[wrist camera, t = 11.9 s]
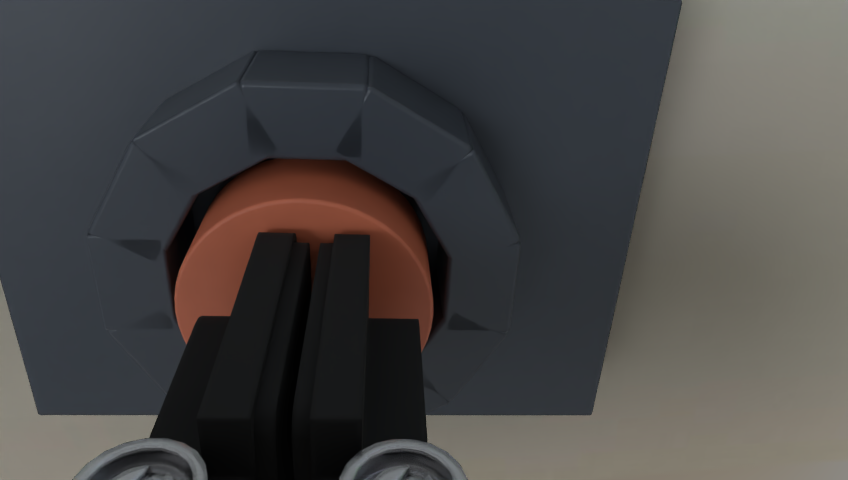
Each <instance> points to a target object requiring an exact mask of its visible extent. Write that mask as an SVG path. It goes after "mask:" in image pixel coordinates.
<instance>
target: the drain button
mask: <svg viewBox="0 0 848 480" xmlns="http://www.w3.org/2000/svg"><path fill="white" fill-rule="evenodd" d="M258 232H271V233H295V234H296V238H297V242H301V243H309V244H310V261H311V292H312V289H313V283H314V277H315V271H316V265H317V259H318V253H319V247H320V243H333V241H334V235H335V234H361V235H370V278H369V318H393V319H418V320H419V326H420V340H421V353H422V351H423V348H424V346H425V344H426V342H427V340H428V337H429V334H430V331H431V327H432V320H433V294H432V285H431V277H430V268H429V259H428V251H427V244H426V238H425V234H424V231H423V228H422V225H421V222H420V220H419V218H418V216H417V214H416V212H415V211H414V209H413V208H412V206H411V205H410V203H409V202H408V200H407V199H406V198H405V197H404V196H403V195H402V194H401V193H400V191H399V190H398V189H396V188H395V187H393V186H391V185H389V184H387V183H386V182H384V181H382V180H380V179H378V178H377V177H375V176H373V175H371V174H370V173H368V172H366V171H364V170H362V169H361V168H359V167H357V166H355V165H353V164H352V163H350V162H348V161H346V160H313V159H271V160H268V161H265V162H262V163H260V164H258V165H255V166H253V167H251V168H249V169H247V170H246V171H244V172H242V173H241V174H239V175H237V176H236V177H235V178H234V179H233V180H231V181H230V182H229V183H228V184H226V185H225V186H224V188H223V189H222V190H221V191H220V192H219V193H218V194H217V195H216V197H215V198H214V200H213V201H212V203H211V204H210V206H209V207H208V210H207V212H206V214H205V216H204V218H203V220H202V222H201V224H200V227H199V229H198V231H197V233H196V235H195V237H194V239H193V241H192V243H191V246H190V248H189V250H188V252H187V254H186V256H185V258H184V260H183V263H182V265H181V267H180V269H179V273H178V277H177V280H176V285H175V295H174V301H175V313H176V317H177V322H178V326H179V329H180V331H181V334H182V336H183V339H184V341H185V343H186V345H187V342H188V340H189V337H190V335H191V332H192V330H193V327H194V325H195V323H196V321H197V319H198V318H199V317H200V316H230V315H231V312H232V309H233V306H234V303H235V300H236V297H237V294H238V291H239V288H240V285H241V282H242V279H243V276H244V273H245V270H246V267H247V264H248V261H249V258H250V255H251V252H252V249H253V246H254V243H255V240H256V237H257V234H258Z"/></svg>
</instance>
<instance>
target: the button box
mask: <svg viewBox="0 0 848 480" xmlns="http://www.w3.org/2000/svg"><path fill="white" fill-rule="evenodd" d="M681 5H682V0H0V280H1V283H2V287H3V290H4V294H5V297H6V301H7V305H8V308H9V312H10V315H11V319H12V322H13V326H14V329H15V333H16V336H17V340H18V343H19V347H20V351H21V354H22V358H23V361H24V365H25V368H26V372H27V375H28V379H29V382H30V386H31V389H32V393H33V397H34V400H35V404H36V407H37V411H38V414H40V415H159V412H160V410H161V407H162V405H163V402H164V400H165V397H166V395H167V392H168V390H169V387H170V385H171V382H172V380H173V377H174V375H175V372H176V370H177V367H178V365H179V362H180V360H181V357H182V355H183V352H184V350H185V347H186V343H185V341H184V339H183V336H182V334H181V331H180V329H179V326H178V322H177V317H176V313H175V301H174V295H175V285H176V280H177V277H178V273H179V269H180V267H181V265H182V263H183V260H184V258H185V256H186V254H187V252H188V250H189V248H190V246H191V243H192V241H193V239H194V237H195V235H196V233H197V231H198V229H199V227H200V224H201V222H202V220H203V218H204V216H205V214H206V212H207V210H208V207H209V206H210V204H211V203H212V201H213V200H214V198H215V197H216V195H217V194H218V193H219V192H220V191H221V190H222V189H223V188H224V186H225V185H226V184H228V183H229V182H230V181H231V180H233V179H234V178H235V177H236V176H237V175H239V174H241V173H242V172H244V171H246V170H247V169H249V168H251V167H253V166H255V165H258V164H260V163H262V162H265V161H268V160H271V159H313V160H346V161H348V162H350V163H352V164H353V165H355V166H357V167H359V168H361V169H362V170H364V171H366V172H368V173H370V174H371V175H373V176H375V177H377V178H378V179H380V180H382V181H384V182H386V183H387V184H389V185H391V186H393V187H395V188H396V189H398V190H399V191H400V193H401V194H402V195H403V196H404V197H405V198H406V199H407V200H408V202H409V203H410V205H411V206H412V208H413V209H414V211H415V212H416V214H417V216H418V218H419V220H420V222H421V225H422V228H423V231H424V234H425V238H426V244H427V251H428V259H429V268H430V277H431V285H432V294H433V320H432V327H431V331H430V334H429V337H428V340H427V342H426V344H425V346H424V348H423V351H422V353H421V355H422V369H423V384H424V398H425V413H426V415H591V414H592V411H593V407H594V402H595V398H596V393H597V389H598V384H599V379H600V375H601V370H602V366H603V361H604V357H605V352H606V347H607V343H608V338H609V334H610V329H611V325H612V320H613V316H614V311H615V306H616V302H617V297H618V293H619V288H620V284H621V279H622V274H623V270H624V265H625V261H626V256H627V252H628V247H629V243H630V238H631V233H632V229H633V224H634V220H635V215H636V211H637V206H638V201H639V197H640V192H641V188H642V183H643V179H644V174H645V170H646V165H647V160H648V156H649V151H650V147H651V142H652V138H653V133H654V128H655V124H656V119H657V115H658V110H659V106H660V101H661V97H662V92H663V87H664V83H665V78H666V74H667V69H668V65H669V60H670V55H671V51H672V46H673V42H674V37H675V33H676V28H677V24H678V19H679V14H680V10H681Z"/></svg>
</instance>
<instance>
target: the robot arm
mask: <svg viewBox="0 0 848 480" xmlns="http://www.w3.org/2000/svg"><path fill="white" fill-rule="evenodd" d="M369 278H370V235H361V234H335V235H334V241H333V243H320V247H319V253H318V259H317V265H316V271H315V277H314V283H313V289H312V292H311V261H310V244H309V243H301V242H297V238H296V234H295V233H271V232H258V234H257V237H256V240H255V243H254V246H253V249H252V252H251V255H250V258H249V261H248V264H247V267H246V270H245V273H244V276H243V279H242V282H241V285H240V288H239V291H238V294H237V297H236V300H235V303H234V306H233V309H232V312H231V315H230V316H200V317H199V318H198V319H197V321H196V323H195V325H194V327H193V330H192V332H191V335H190V337H189V340H188V342H187V345H186V347H185V350H184V352H183V355H182V357H181V360H180V362H179V365H178V367H177V370H176V372H175V375H174V377H173V380H172V382H171V385H170V387H169V390H168V392H167V395H166V397H165V400H164V402H163V405H162V407H161V410H160V412H159V415H158V417H157V420H156V422H155V425H154V428H153V430H152V433H151V435H150V438H144V439H140V440H135V441H130V442H126V443H123V444H121V445H118V446H116V447H114V448H111V449H109V450H107V451H104V452H103V453H102V454H100V455H99V456H97V457H96V458H94V459H93V460H91V461H90V462H89V463H87V464H86V465H85V466H84V467H83V468H82V469H81V471H80V472H79V473H78V474H77V475H76V476H75V477H74V478H73V479H72V480H468V479H467V477H466V475H465V473H464V471H463V469H462V467H461V465H460V464H459V463H458V462H457V461H456V460H455V459H454V458H453V457H452V456H451V455H450V454H449V453H448V452H446V451H444V450H442V449H440V448H438V447H436V446H435V445H433V444H430V443H428V442H427V428H426V413H425V398H424V384H423V369H422V355H421V340H420V326H419V320H418V319H393V318H369Z"/></svg>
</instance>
